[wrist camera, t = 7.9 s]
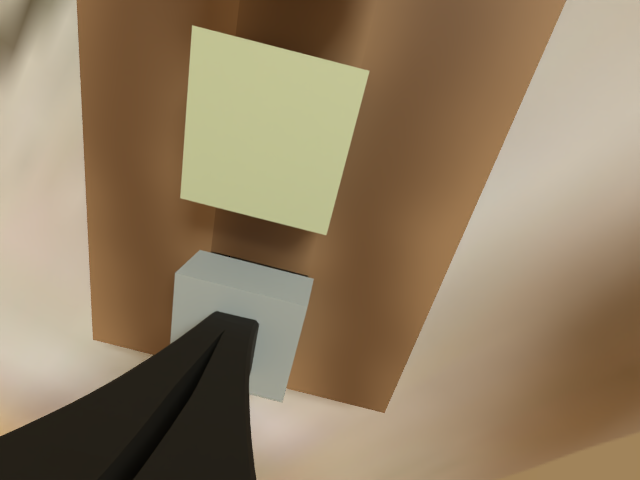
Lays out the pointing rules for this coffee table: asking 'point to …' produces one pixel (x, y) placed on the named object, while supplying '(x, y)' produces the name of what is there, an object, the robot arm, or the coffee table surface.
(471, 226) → the coffee table surface
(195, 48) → the pale green cube
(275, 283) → the pale grey cube
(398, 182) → the brown wooden board
